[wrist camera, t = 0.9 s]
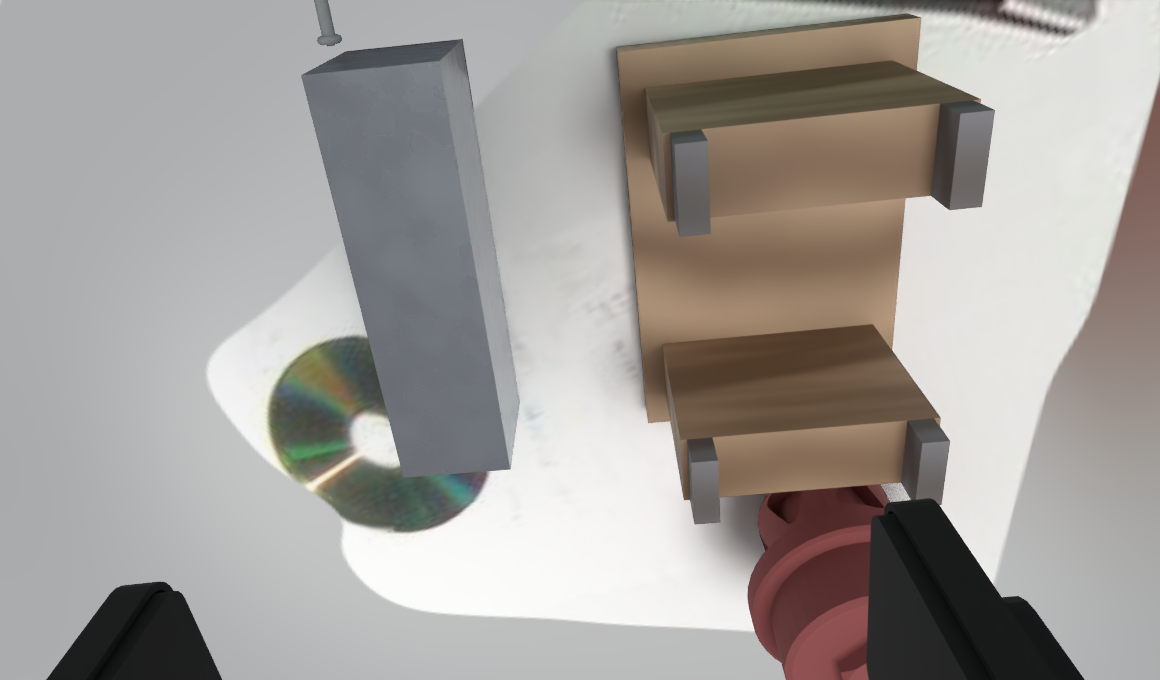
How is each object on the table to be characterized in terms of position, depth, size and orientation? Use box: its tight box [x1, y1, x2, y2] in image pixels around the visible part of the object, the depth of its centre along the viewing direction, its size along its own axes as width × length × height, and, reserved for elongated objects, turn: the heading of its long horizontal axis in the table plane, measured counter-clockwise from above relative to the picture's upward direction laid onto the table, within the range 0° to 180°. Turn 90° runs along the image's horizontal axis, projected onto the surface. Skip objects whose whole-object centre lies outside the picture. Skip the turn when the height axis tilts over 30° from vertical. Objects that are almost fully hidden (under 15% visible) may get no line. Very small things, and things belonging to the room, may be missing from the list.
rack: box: [617, 14, 995, 524], centre depth 32 cm, size 18×12×11 cm, turn 7°
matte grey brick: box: [302, 39, 519, 477], centre depth 35 cm, size 18×5×6 cm, turn 6°
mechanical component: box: [748, 484, 890, 680], centre depth 39 cm, size 12×10×10 cm
